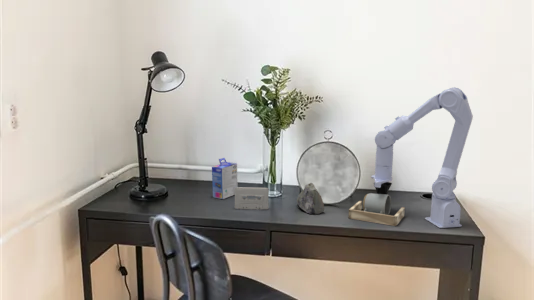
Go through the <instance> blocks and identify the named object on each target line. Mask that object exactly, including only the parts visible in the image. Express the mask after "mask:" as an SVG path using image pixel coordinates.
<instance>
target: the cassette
mask: <svg viewBox="0 0 534 300" xmlns="http://www.w3.org/2000/svg"><path fill="white" fill-rule="evenodd" d="M269 192H270V191H269V188H268V187H244V186H243V187H241V186H240V187H239V186H238V187H236V188H235V195H234V209H235V210H237V209H238V210H269ZM249 197H255V198H249ZM258 197H259V198H258Z"/></svg>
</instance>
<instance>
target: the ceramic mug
mask: <svg viewBox="0 0 534 300" xmlns="http://www.w3.org/2000/svg"><path fill="white" fill-rule="evenodd" d="M391 208H392V197H391V195H390V194H388V193H387V194H377V193H372V192H370V193H367V194H365V195H364V197H363V200H362V211H366V212H372V213H379V214H385V215H390V213H391V210H392V209H391Z"/></svg>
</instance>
